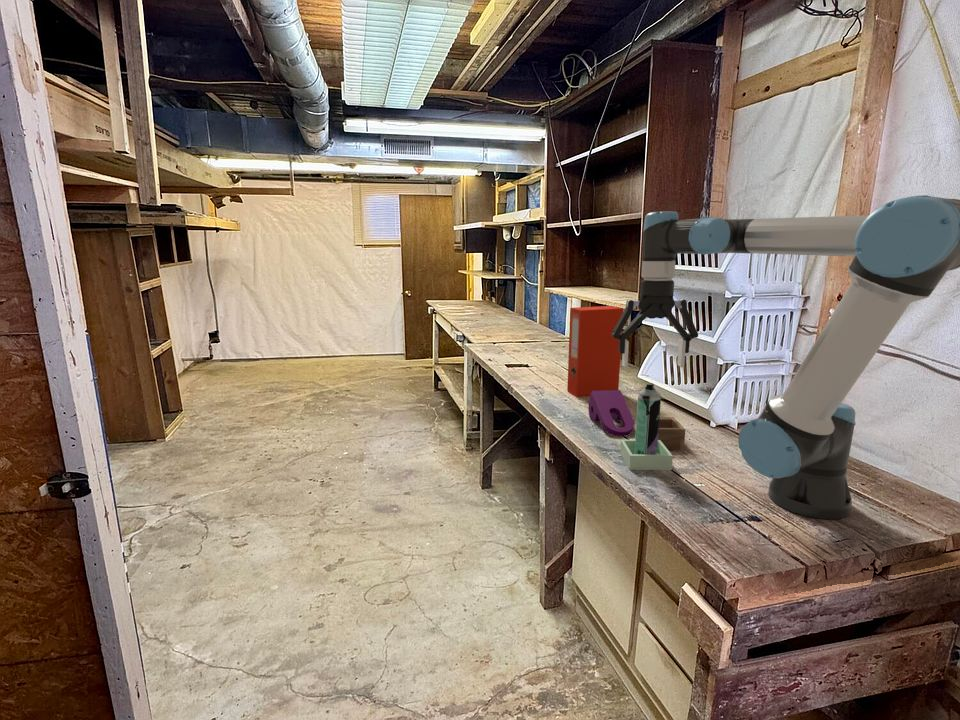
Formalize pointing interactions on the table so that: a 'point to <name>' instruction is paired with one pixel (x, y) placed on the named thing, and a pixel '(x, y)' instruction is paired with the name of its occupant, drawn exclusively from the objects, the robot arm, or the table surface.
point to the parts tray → (645, 457)
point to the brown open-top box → (671, 433)
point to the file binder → (593, 350)
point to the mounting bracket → (610, 411)
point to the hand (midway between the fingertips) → (652, 366)
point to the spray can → (647, 421)
